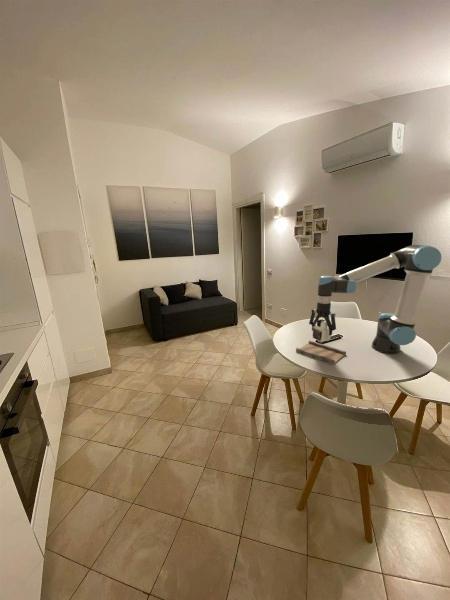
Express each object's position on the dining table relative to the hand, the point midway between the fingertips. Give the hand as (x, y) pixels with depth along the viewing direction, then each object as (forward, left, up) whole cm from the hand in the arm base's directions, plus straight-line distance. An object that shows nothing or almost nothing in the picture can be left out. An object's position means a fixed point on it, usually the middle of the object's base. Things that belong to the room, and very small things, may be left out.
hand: (321, 337), depth 148 cm
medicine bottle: (0, 0, -1) cm, 1 cm away
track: (0, 0, -10) cm, 10 cm away
